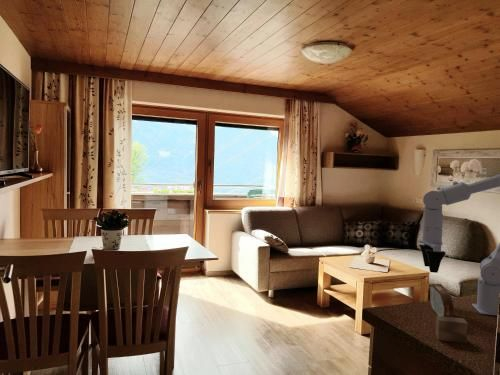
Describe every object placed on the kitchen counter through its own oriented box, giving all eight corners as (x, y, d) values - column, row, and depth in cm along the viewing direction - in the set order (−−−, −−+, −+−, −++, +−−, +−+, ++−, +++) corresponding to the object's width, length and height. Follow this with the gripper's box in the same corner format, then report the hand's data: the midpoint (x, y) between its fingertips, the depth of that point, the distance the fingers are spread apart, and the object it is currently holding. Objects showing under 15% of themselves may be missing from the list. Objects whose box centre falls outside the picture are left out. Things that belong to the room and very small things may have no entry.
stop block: (462, 337, 95) (463, 318, 95) (466, 343, 92) (467, 323, 92) (435, 334, 97) (436, 315, 96) (438, 340, 94) (439, 320, 93)
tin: (454, 326, 102) (455, 296, 102) (441, 325, 103) (443, 295, 103) (438, 307, 117) (439, 280, 117) (427, 306, 118) (428, 279, 117)
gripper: (414, 224, 130) (413, 263, 130) (424, 230, 115) (422, 274, 116) (436, 225, 128) (435, 264, 129) (449, 231, 114) (447, 275, 114)
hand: (430, 269), depth 122 cm, fingers open, 7 cm apart
